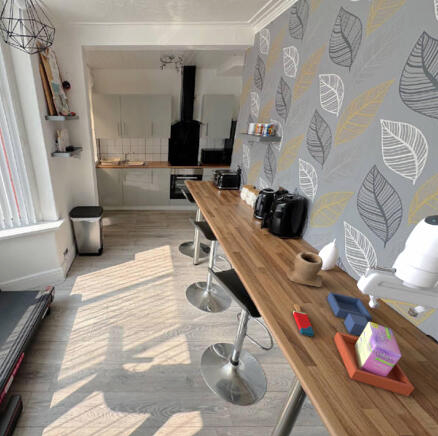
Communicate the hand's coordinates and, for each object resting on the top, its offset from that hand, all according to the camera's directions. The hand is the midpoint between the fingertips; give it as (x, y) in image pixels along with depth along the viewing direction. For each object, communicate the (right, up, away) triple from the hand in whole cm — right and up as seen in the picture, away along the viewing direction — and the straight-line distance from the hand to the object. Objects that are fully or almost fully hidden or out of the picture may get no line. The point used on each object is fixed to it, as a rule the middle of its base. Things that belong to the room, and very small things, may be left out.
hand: (392, 310), depth 69 cm
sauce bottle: (+19, +1, +53) cm, 56 cm away
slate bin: (+9, -10, +27) cm, 30 cm away
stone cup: (+3, -3, +43) cm, 43 cm away
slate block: (+4, -14, +18) cm, 23 cm away
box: (-2, -19, +5) cm, 20 cm away
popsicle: (-13, -12, +21) cm, 28 cm away
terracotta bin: (-2, -19, +5) cm, 20 cm away
